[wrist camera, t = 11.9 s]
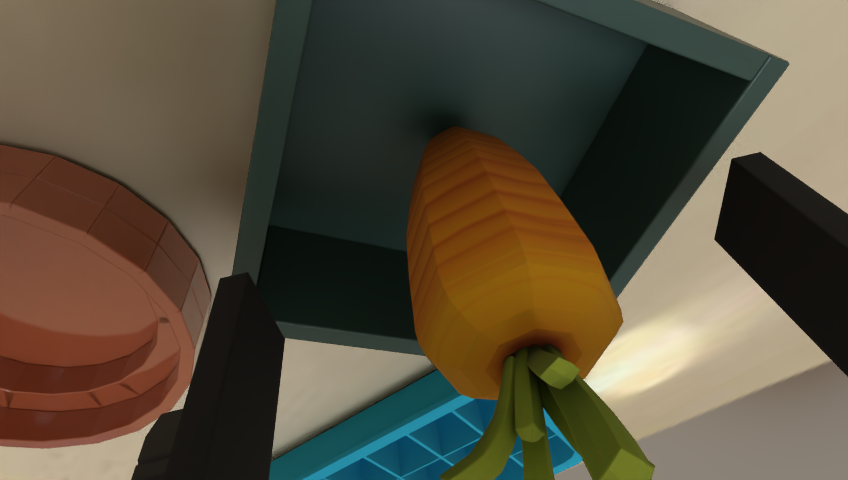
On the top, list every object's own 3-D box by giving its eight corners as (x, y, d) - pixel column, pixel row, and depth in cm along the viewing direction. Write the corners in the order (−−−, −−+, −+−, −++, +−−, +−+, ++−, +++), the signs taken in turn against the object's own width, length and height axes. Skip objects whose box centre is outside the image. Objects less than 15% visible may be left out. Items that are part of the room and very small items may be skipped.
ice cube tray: (235, 472, 33) (226, 519, 31) (495, 326, 28) (509, 369, 26) (350, 524, 40) (350, 567, 37) (579, 413, 34) (597, 455, 32)
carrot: (454, 209, 22) (582, 610, 10) (360, 150, 20) (388, 578, 8) (534, 122, 20) (806, 499, 8) (440, 46, 18) (631, 415, 6)
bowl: (-120, 370, 24) (-180, 436, 21) (-230, 93, 17) (-344, 140, 14) (197, 398, 28) (181, 457, 26) (226, 187, 21) (208, 238, 18)
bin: (248, 229, 22) (222, 330, 17) (311, -138, 15) (298, -136, 10) (521, 280, 26) (562, 374, 21) (678, 11, 19) (792, 63, 14)
